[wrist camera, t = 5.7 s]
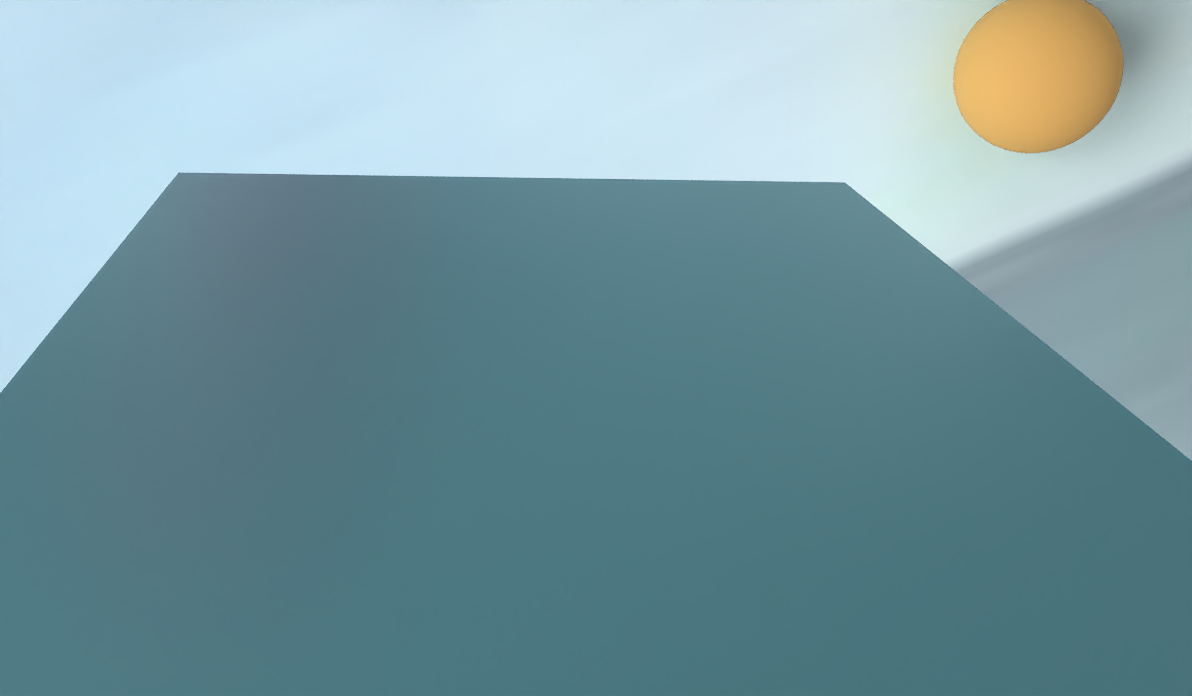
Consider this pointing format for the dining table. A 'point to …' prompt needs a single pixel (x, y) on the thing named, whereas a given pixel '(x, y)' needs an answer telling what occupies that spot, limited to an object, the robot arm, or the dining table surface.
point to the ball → (1038, 73)
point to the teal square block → (570, 458)
